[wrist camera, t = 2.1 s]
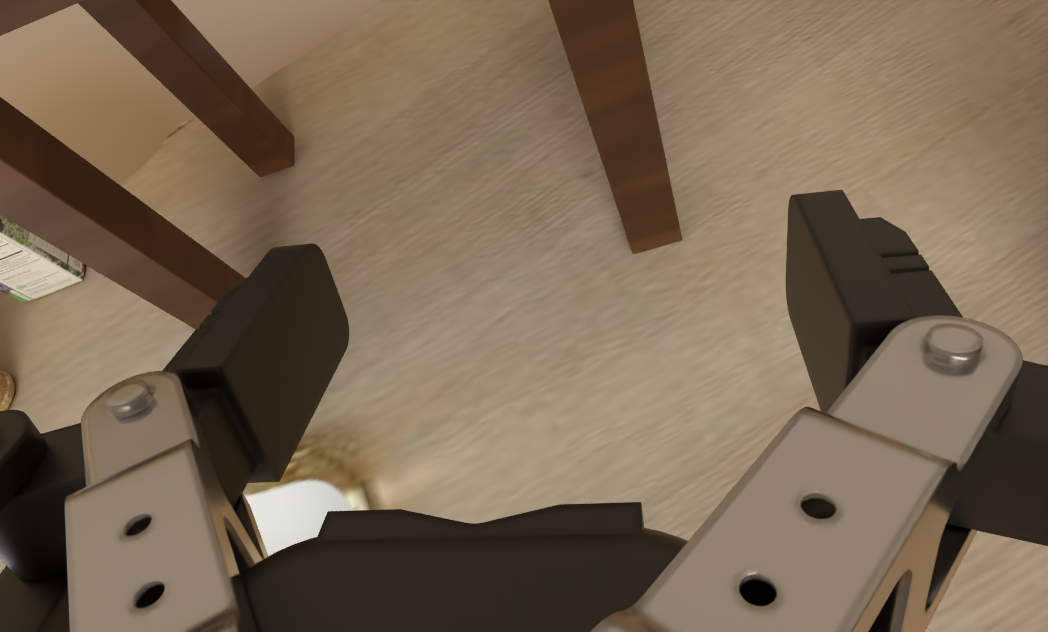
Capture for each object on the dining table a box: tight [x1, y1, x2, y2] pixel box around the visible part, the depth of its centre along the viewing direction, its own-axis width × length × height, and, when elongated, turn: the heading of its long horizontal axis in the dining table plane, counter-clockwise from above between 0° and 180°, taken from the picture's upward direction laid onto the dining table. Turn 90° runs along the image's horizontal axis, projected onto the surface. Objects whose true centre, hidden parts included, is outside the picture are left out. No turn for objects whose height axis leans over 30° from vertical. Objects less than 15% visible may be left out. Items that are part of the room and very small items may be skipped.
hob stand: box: [0, 0, 682, 330], centre depth 36 cm, size 20×30×33 cm, turn 100°
